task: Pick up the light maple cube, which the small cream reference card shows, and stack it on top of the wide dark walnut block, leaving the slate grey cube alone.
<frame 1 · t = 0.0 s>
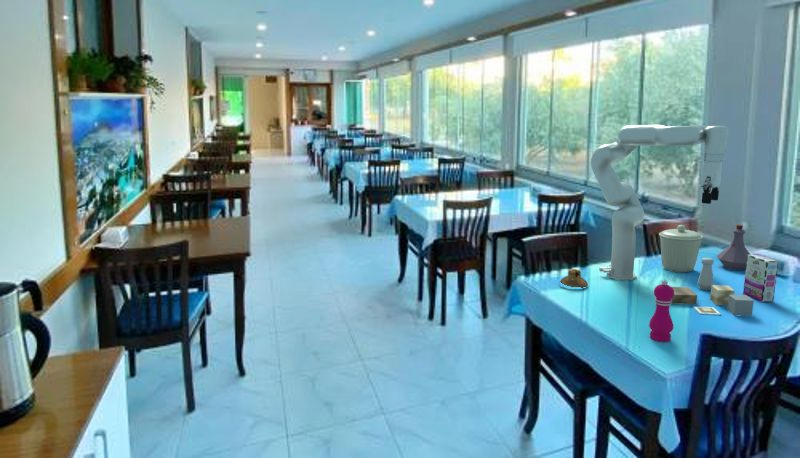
hand: (709, 201, 221), 37 cm above the table, tool pointing down, fingers open, 9 cm apart
reference card: (706, 311, 208), on the table
maple cube: (721, 302, 217), on the table
salt shaker: (704, 289, 233), on the table
pepper mill: (660, 338, 185), on the table
walnut block: (678, 300, 221), on the table
canister: (677, 269, 260), on the table
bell: (573, 286, 240), on the table
flask: (734, 267, 262), on the table
candy bar box: (757, 298, 221), on the table
grey cube: (739, 313, 206), on the table
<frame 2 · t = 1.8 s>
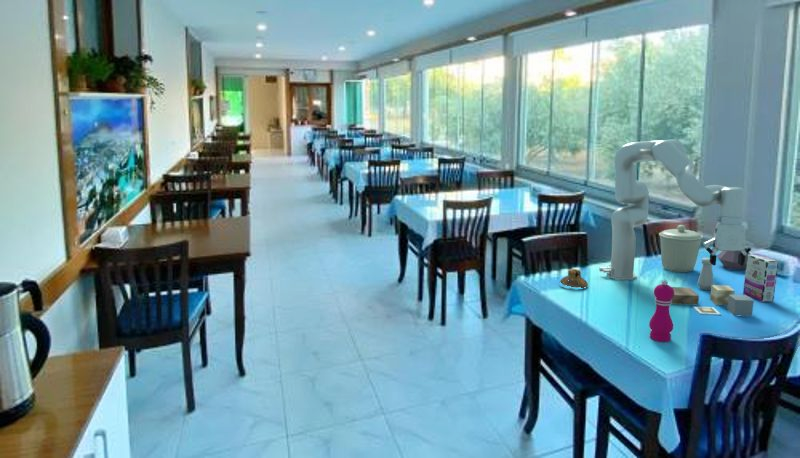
hand: (726, 264, 213), 15 cm above the table, tool pointing down, fingers open, 9 cm apart
nothing on the table moved.
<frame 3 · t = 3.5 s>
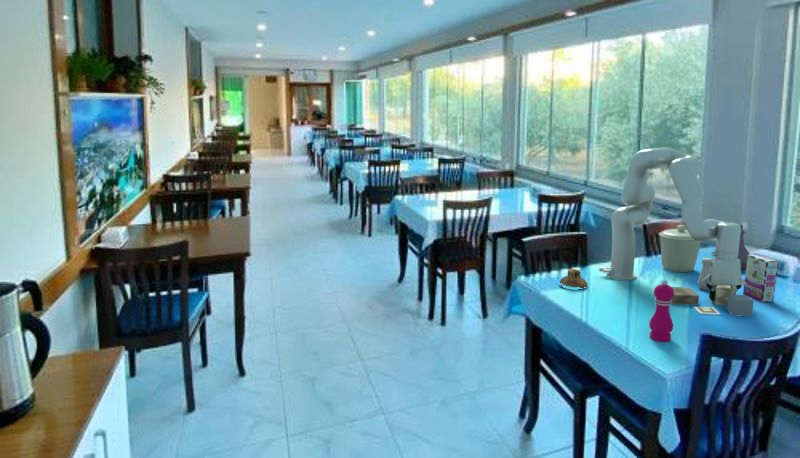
hand: (721, 300, 216), 1 cm above the table, tool pointing down, fingers closed on maple cube, 6 cm apart
maple cube: (721, 302, 217), on the table, touching gripper
everything else where it was.
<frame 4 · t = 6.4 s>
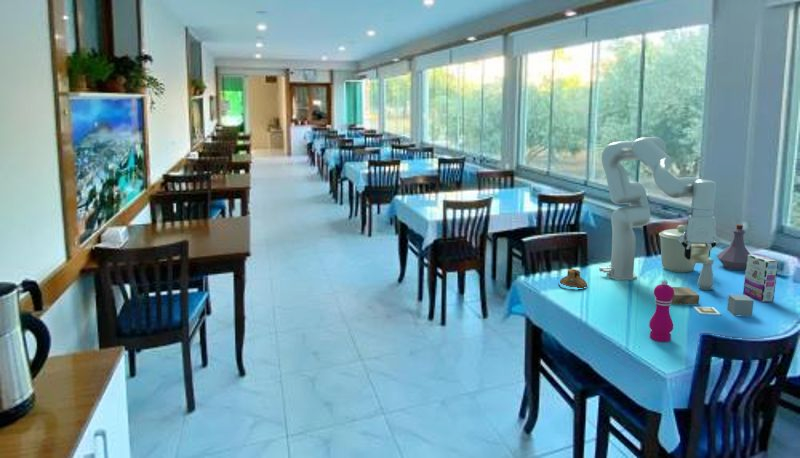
hand: (696, 258, 216), 17 cm above the table, tool pointing down, fingers closed on maple cube, 6 cm apart
maple cube: (696, 260, 216), point 16 cm above the table, touching gripper
everything else where it was.
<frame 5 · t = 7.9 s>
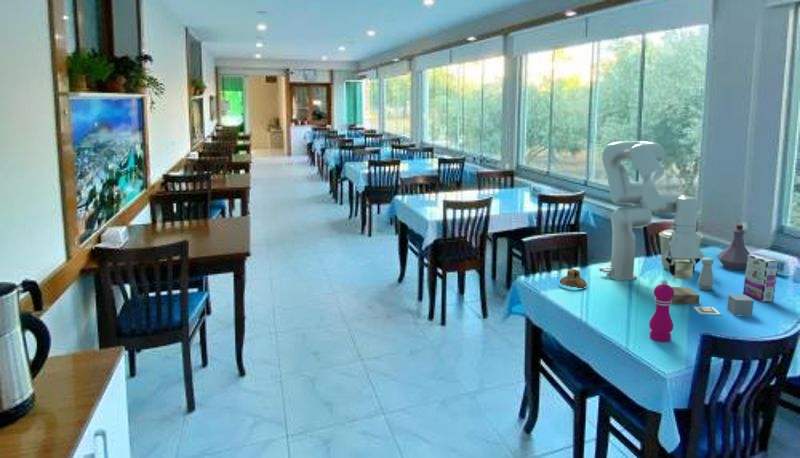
hand: (681, 274, 218), 11 cm above the table, tool pointing down, fingers closed on maple cube, 6 cm apart
maple cube: (681, 276, 218), point 10 cm above the table, touching gripper
everything else where it was.
when the fingers open (5 cm above the table, at t = 9.4 s): maple cube stays where it is, resting on walnut block.
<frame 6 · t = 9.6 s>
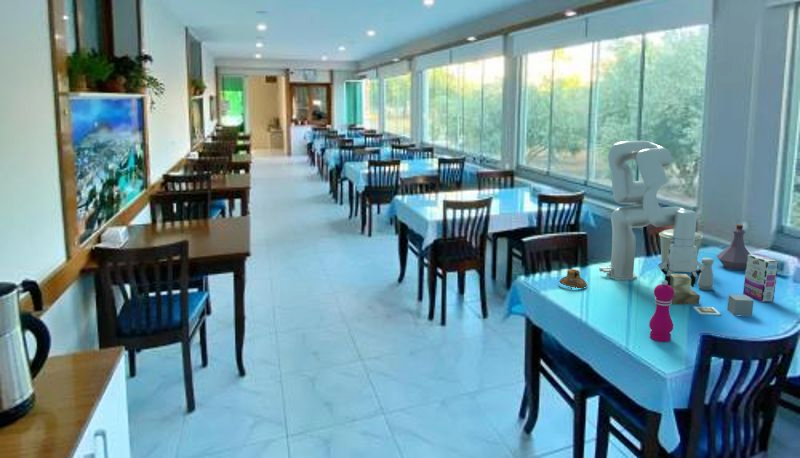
hand: (679, 285, 220), 6 cm above the table, tool pointing down, fingers open, 8 cm apart
maple cube: (679, 290, 220), point 4 cm above the table, touching walnut block
walnut block: (679, 300, 220), on the table, touching maple cube
everything else where it was.
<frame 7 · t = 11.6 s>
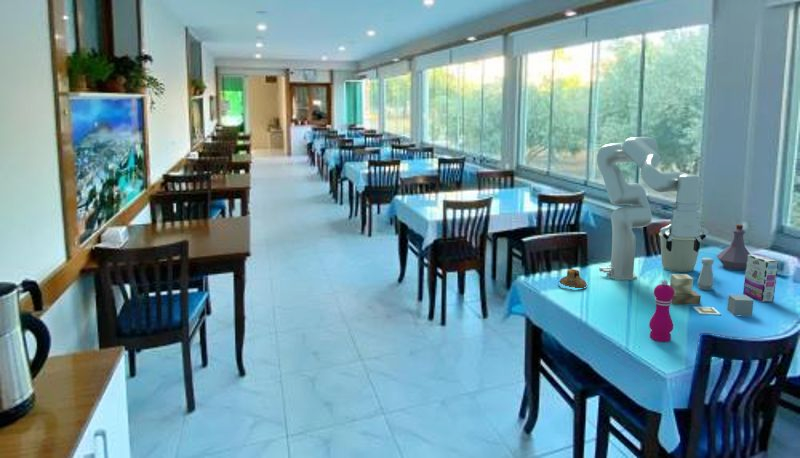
hand: (682, 250, 217), 20 cm above the table, tool pointing down, fingers open, 9 cm apart
maple cube: (680, 291, 220), point 4 cm above the table
walnut block: (680, 301, 220), on the table
everything else where it was.
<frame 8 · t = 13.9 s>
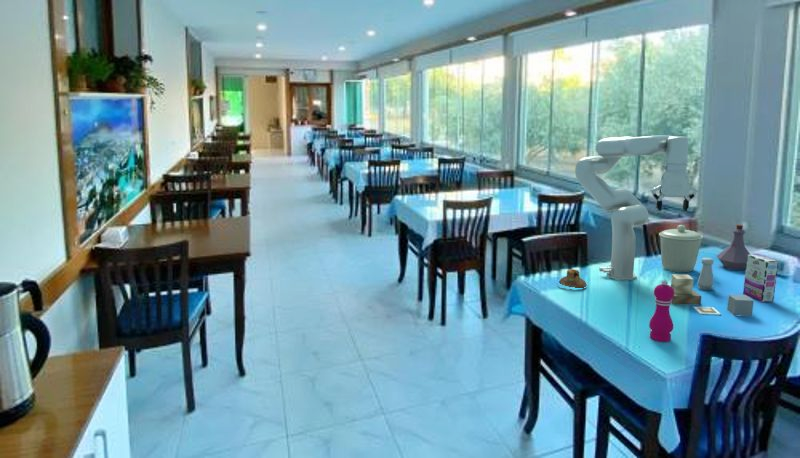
hand: (672, 210, 226), 33 cm above the table, tool pointing down, fingers open, 9 cm apart
nothing on the table moved.
at the end: maple cube 0.4 cm off-centre on the walnut block, point 4.0 cm above the walnut block's base; maple cube tilted 1°; grey cube moved 0.1 cm from its start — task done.
